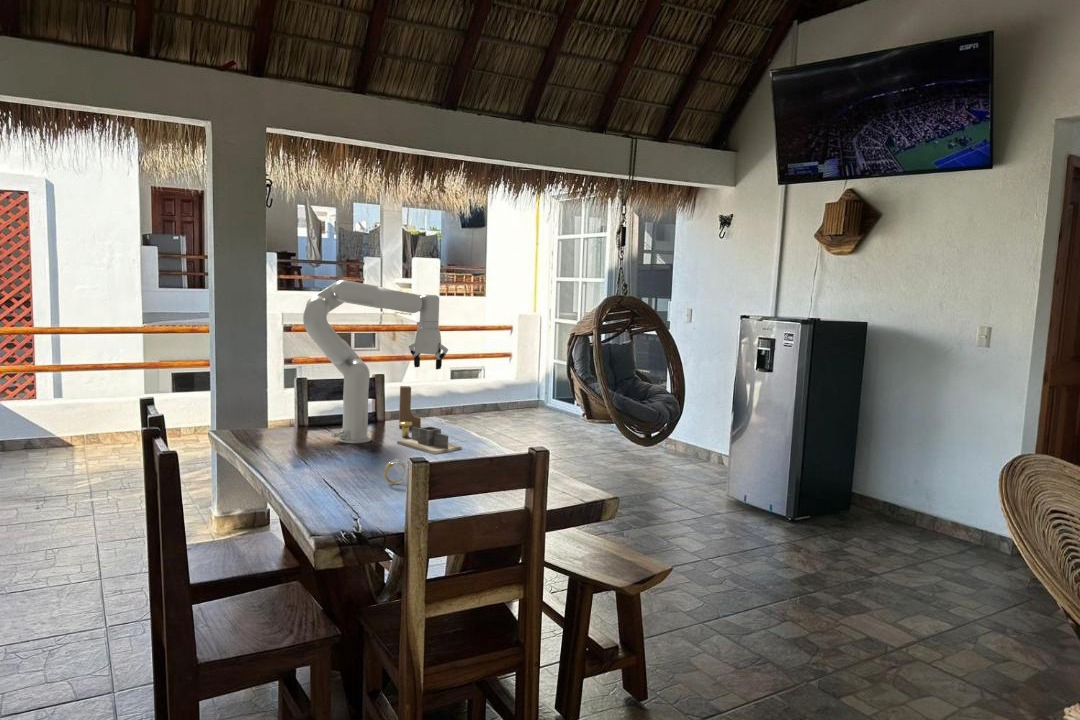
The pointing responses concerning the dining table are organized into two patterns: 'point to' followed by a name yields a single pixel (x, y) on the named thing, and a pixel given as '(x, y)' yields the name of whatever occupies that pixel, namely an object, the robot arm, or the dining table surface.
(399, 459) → the ring
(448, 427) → the dining table surface
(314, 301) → the robot arm
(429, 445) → the hinge base
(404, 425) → the round gold knob
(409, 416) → the wooden block
